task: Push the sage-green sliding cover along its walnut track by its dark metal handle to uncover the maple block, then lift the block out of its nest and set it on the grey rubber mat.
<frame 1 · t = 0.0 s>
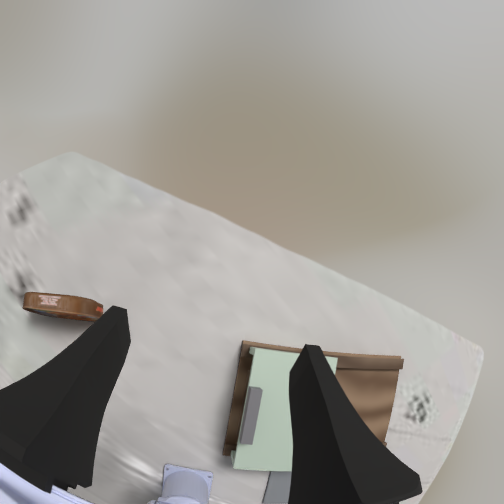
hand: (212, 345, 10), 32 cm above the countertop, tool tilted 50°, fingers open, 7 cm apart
puzzle board: (321, 408, 40), on the countertop
cover: (284, 414, 34), point 5 cm above the countertop, slide at 0.0 cm
mat: (292, 484, 35), on the countertop
tin: (73, 310, 39), on the countertop
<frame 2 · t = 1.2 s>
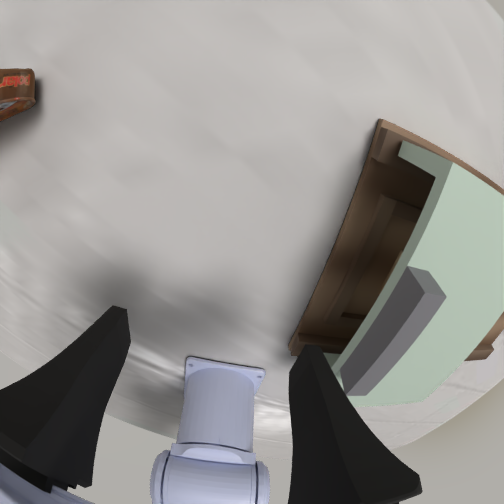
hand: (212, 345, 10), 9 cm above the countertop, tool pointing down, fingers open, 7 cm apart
puzzle board: (462, 285, 21), on the countertop
cover: (433, 317, 15), point 5 cm above the countertop, slide at 0.0 cm
tin: (2, 104, 13), on the countertop
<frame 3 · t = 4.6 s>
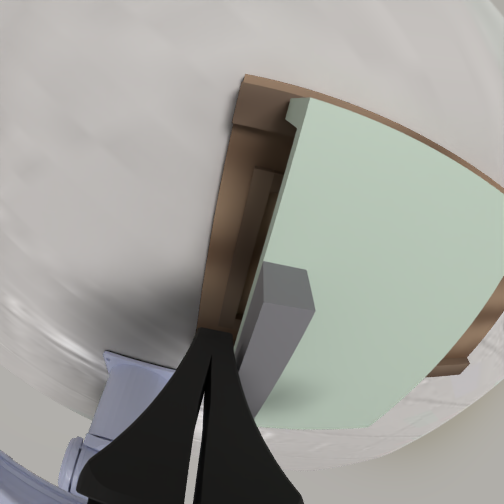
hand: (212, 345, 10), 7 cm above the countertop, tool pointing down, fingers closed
puzzle board: (413, 287, 18), on the countertop
cover: (358, 332, 13), point 5 cm above the countertop, slide at 1.3 cm, touching gripper
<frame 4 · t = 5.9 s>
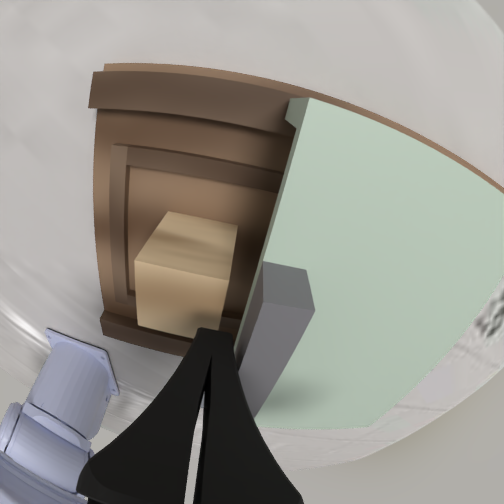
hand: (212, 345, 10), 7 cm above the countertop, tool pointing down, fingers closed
puzzle board: (324, 269, 17), on the countertop
cover: (357, 332, 13), point 5 cm above the countertop, slide at 8.9 cm, touching gripper
block: (197, 248, 16), point 1 cm above the countertop, touching puzzle board
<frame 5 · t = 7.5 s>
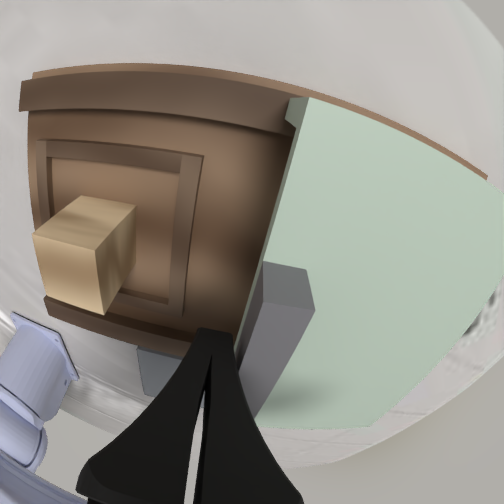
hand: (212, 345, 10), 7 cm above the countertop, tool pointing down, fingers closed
puzzle board: (232, 250, 17), on the countertop
cover: (358, 332, 13), point 5 cm above the countertop, slide at 14.8 cm, touching gripper
mat: (185, 380, 25), on the countertop
block: (107, 229, 16), point 1 cm above the countertop, touching puzzle board
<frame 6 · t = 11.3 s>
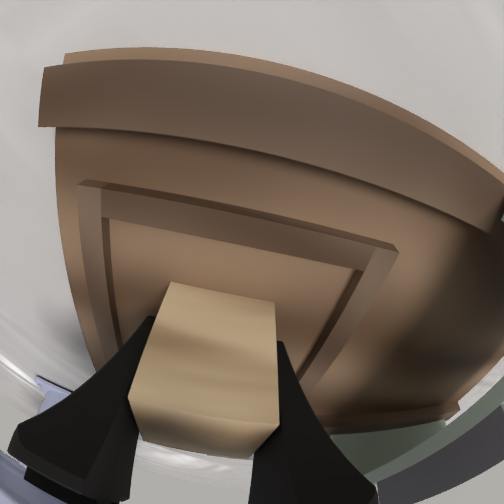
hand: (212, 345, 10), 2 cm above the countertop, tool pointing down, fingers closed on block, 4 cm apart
puzzle board: (375, 340, 13), on the countertop
cover: (488, 409, 9), point 5 cm above the countertop, slide at 15.1 cm
block: (215, 327, 11), point 1 cm above the countertop, touching gripper, puzzle board
when the fingers open (3 cm above the countertop, at t = 15.7 s): block drops 1 cm, resting on mat.
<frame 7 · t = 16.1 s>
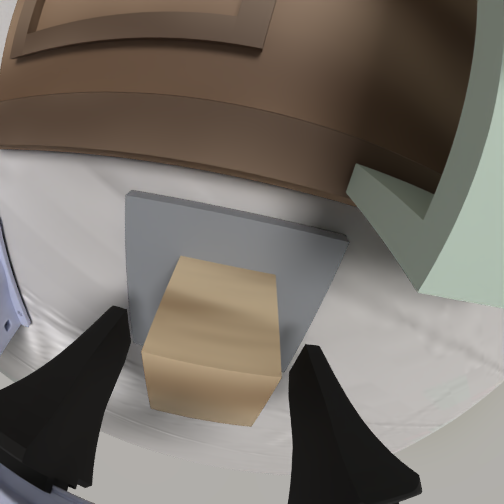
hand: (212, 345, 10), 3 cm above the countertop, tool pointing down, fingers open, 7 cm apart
mat: (220, 297, 13), on the countertop
block: (220, 301, 12), point 1 cm above the countertop, touching mat
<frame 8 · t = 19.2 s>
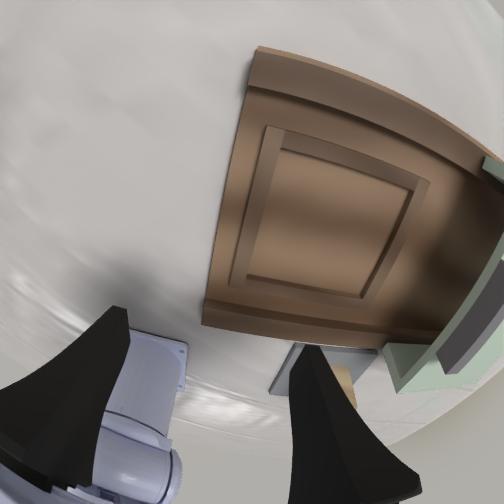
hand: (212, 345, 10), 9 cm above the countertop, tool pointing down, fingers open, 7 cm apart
puzzle board: (417, 251, 19), on the countertop
cover: (497, 304, 15), point 5 cm above the countertop, slide at 15.1 cm
mat: (321, 373, 27), on the countertop
block: (323, 376, 26), point 1 cm above the countertop, touching mat
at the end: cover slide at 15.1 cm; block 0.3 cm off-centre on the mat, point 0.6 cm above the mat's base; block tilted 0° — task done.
